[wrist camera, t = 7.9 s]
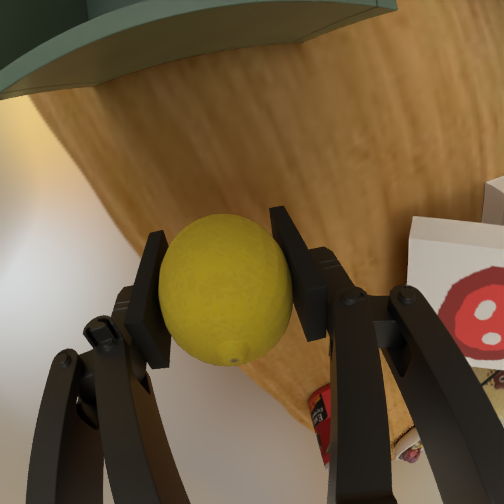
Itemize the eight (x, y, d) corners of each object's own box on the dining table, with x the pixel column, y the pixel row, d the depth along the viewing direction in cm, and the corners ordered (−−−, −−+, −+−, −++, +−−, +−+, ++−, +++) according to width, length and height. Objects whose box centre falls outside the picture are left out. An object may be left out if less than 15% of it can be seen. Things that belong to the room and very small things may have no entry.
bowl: (456, 389, 49) (470, 415, 42) (489, 388, 59) (500, 406, 53) (370, 451, 62) (378, 474, 55) (422, 441, 72) (430, 458, 65)
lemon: (176, 282, 17) (167, 404, 10) (162, 192, 14) (126, 302, 7) (269, 275, 18) (305, 391, 11) (273, 186, 15) (331, 286, 8)
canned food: (305, 389, 35) (326, 464, 25) (363, 371, 35) (392, 441, 25) (308, 412, 39) (325, 476, 29) (358, 397, 39) (381, 457, 29)
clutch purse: (533, 288, 35) (576, 340, 22) (529, 307, 38) (567, 355, 25) (417, 386, 42) (449, 454, 29) (422, 396, 45) (450, 456, 32)
